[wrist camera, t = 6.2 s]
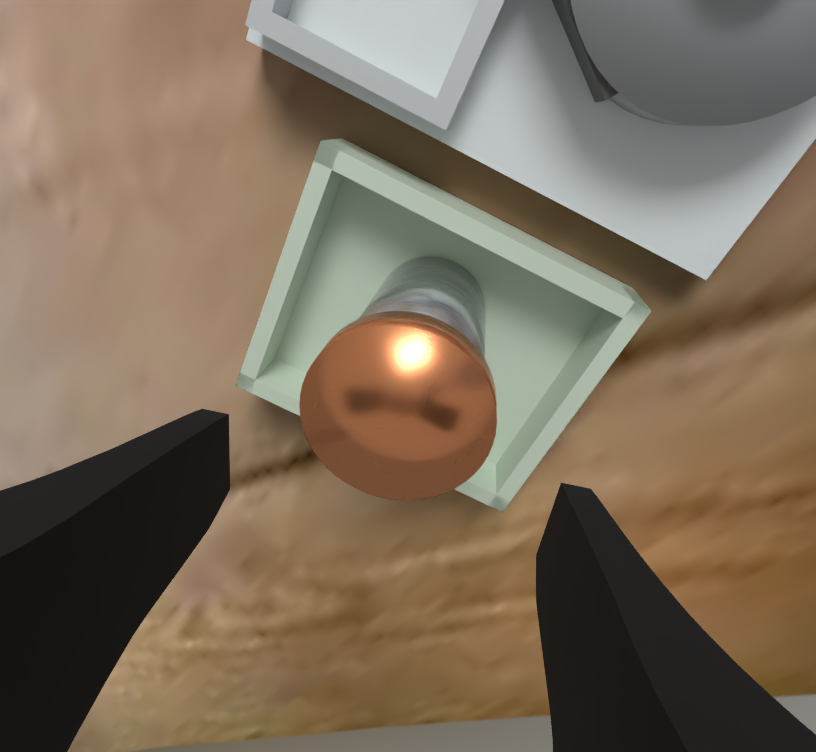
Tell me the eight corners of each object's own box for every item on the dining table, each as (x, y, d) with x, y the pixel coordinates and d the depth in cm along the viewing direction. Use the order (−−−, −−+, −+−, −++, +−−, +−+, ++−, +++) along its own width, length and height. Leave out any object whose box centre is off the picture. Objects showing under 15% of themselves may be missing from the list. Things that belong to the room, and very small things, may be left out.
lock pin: (503, 255, 18) (512, 340, 11) (484, 375, 20) (481, 513, 13) (372, 240, 19) (298, 313, 11) (366, 359, 21) (300, 485, 13)
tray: (632, 287, 18) (651, 310, 16) (501, 473, 23) (502, 512, 20) (342, 138, 18) (320, 140, 15) (261, 358, 22) (235, 385, 20)
